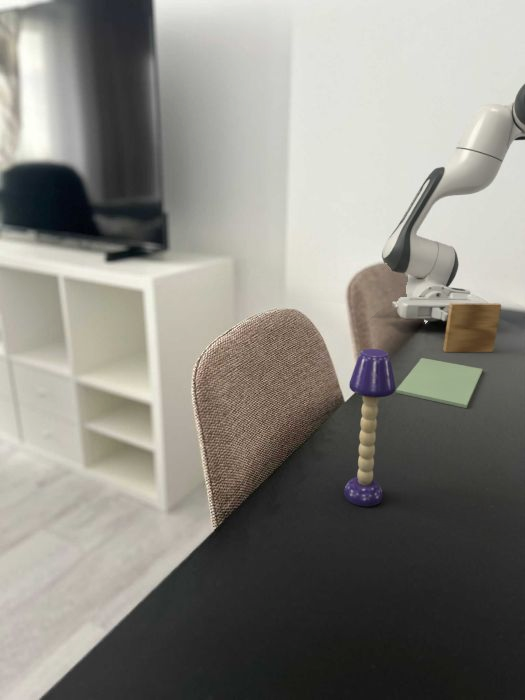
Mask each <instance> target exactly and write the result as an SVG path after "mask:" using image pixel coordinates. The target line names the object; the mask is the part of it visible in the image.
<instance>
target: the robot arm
mask: <svg viewBox="0 0 525 700" xmlns="http://www.w3.org/2000/svg"><path fill="white" fill-rule="evenodd" d="M514 141H525V83H524V84H523V85H522V86H521V87H520V88H519V90H518V92H517V94H516V96H515V99H514V101H513V102H511V103H510V104H504V105H503V104H499V103H489V104H488V103H487V104H485V105H482V106H480V107H479V108H478V109H476V111H475V112H474V113H473V115H472V116H471V118H470V120H469V121H468V123H467V124H466V126H465V128H464V130H463V132H462V134H461V136H460V138H459V140H458V142H457V144H456V147H455V149H454V151H453V153H452V155H451V157H450V158H449V159H448V161H447V162H445V164H444V165H443V166H440V167H436V168H433V170H432V171H431V172H430V173H429V174H428V176H427V177H426V178H425V180H424V182H423V183H422V185H421V187H419V190H418V191H417V193H416V194H415V197H414V198H413V199H412V201H411V203H410V205H409V207H408V208H407V209H406V212H405V213H404V215H403V217H402V218H401V220H400V221H399V223H398V224H397V226H396V227H395V229H394V231H392V233H391V234H390V236H389V237H388V239H387V240H386V242H385V244H384V246H383V249H382V252H381V259H382V261H383V263H384V264H385V263H387V265H388V266H389V267H390V268H391V270H392V271H391V272H393V271H394V272H393V273H398V274H404V275H408V282H407V285H406V294H407V297H400V298H399V297H398V299H397V300H395V301H392V302H391V306H392V307H393V308H396V312H397V314H398V316H399V317H400V318H401V319H405V320H424V321H426V322H438V321H440V320H441V321H443V322H447V320H448V313H449V312H447V311H443V309H444V308H445V307H448V306H450V303H489V302H488V301H487V300H485V299H484V298H481V297H479V296H478V295H475V294H472V293H471V291H470V290H469V289H465V288H459V287H451V286H450V285H451V284H453V281H454V280H455V278H456V276H457V273H458V271H459V270H458V269H459V258H458V253H457V251H456V249H455V248H454V247H453V246H452V245H448V244H446V243H442V242H439V241H435V240H432V239H429V238H425V237H423V236H419V235H418V234H417V233H418V231H419V229H420V227H421V226H422V225H423V222H424V221H425V219H426V218H427V216H428V214H429V213H430V211H431V209H432V208H433V206H434V205H435V204H436V203H437V202H438V201H439V200H441V199H444V198H447V197H452V196H453V197H454V196H465V195H472V194H476V193H479V192H481V191H484V190H485V189H486V188H488V187H489V186H490V185H491V184H492V183H493V182H494V180H495V179H496V177H497V176H498V173H499V172H500V170H501V167H502V165H503V162H504V160H505V158H506V156H507V153H508V152H509V151H508V150H509V149H510V146H511V145H512V144H513V142H514Z"/></svg>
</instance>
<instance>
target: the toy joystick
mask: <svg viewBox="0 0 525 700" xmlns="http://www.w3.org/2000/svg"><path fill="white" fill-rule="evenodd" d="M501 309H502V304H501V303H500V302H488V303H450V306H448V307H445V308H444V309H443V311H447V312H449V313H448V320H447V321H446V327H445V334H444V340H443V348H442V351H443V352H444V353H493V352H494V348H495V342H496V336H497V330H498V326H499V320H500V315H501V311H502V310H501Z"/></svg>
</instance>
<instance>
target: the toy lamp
mask: <svg viewBox="0 0 525 700" xmlns="http://www.w3.org/2000/svg"><path fill="white" fill-rule="evenodd" d="M395 382H396V381H395V376H394V370H393V366H392V360H391V356H390V354H389V353H388V351H385V350H383V349H378V348H365V349H363V350H361V351H360V353H359V354H358V357H357V359H356V362H355V365H354V368H353V371H352V374H351V377H350V380H349V386H348V387H349V389H350V390H351V391H352V392H353V393H354V394H357V395H360V396H361V397H362V406H361V408H360V409H361V418H360V423H359V424H360V432H359V435H358V436H359V441H360V443H359V445H358V455H359V456H358V460H357V466H358V469H357V475H356V477H353V478H351V479H349V481H347V483H346V485H345V487H344V489H343V495H344V498H345V499H346V500H347V501H348V502H349V503H351V504H353V505H355V506H358V507H366V508H368V507H374V506H377V505H379V504H380V503H381V502H382V501H383V497H384V494H383V489H382V487H381V485H380V484H379V483H378V482H377V481H376V480H375V479H374V470H373V469H374V466H375V459H374V456H375V452H376V446H375V443H376V438H377V434H376V430H377V426H378V420H377V416H378V413H379V408H378V407H379V406H378V403H379V401H380V398H385V397H389V396H391V395H393V394H394V393H395V392H396V383H395Z"/></svg>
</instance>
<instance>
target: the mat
mask: <svg viewBox="0 0 525 700" xmlns="http://www.w3.org/2000/svg"><path fill="white" fill-rule="evenodd" d="M483 370H484V369H483V368H479V367H473V366H468V365H462V364H457V363H453V362H446V361H440V360H435V359H430V358H424V357H421V358H420V359H419V361H417V363H416V364H415V366H414V367H413V368H412V369H411V371H410V372H409V373H408V375H406V377H405V378H404V379H403V381H402V382H401V383H400V384H399V385H398V386H397V388H395V394H401V395H404V396H409V397H414V398H417V399H422V400H427V401H432V402H435V403H441V404H445V405H450V406H454V407H459V408H463V409H467V408H468V406H469V403H470V402H471V400H472V397H473V395H474V393H475V390H476V388H477V385H478V382H479V380H480V379H481V377H482V373H483Z"/></svg>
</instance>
